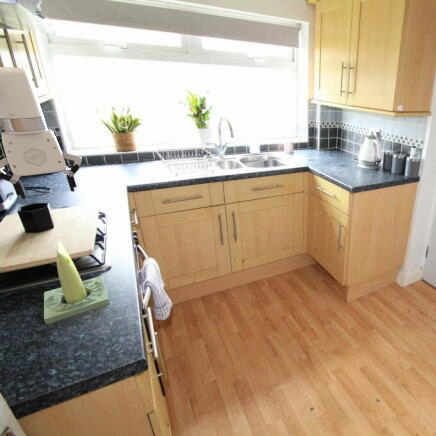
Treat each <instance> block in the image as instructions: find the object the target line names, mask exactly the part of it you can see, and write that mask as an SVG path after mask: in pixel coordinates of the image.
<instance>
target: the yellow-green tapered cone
mask: <svg viewBox="0 0 436 436" xmlns="http://www.w3.org/2000/svg"><path fill="white" fill-rule="evenodd" d="M55 256H56V257H55V258H56V260H55V261H56V268H57V274H58V278H59V282H60V286H61V287H62V290H63V293H64V296H65V299H66V300H65V302H66V303H65V304H71V303H76V302H79V301H81V300H83V299H85V298H87V297H88V296H89V295H88V292H86V291H85V288H84V286H83V283H82V281H83V280H82V279H81V276H80V274H79V272H78V269H77V267H76V265H75V263H74V262H73V259H72V258H71V256H70V254H69V253H68V251H67V249H66V247H65V246H64V244H63V243H62V242H61V241H60V238H58V239H57V248H56V255H55Z"/></svg>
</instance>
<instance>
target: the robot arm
mask: <svg viewBox="0 0 436 436" xmlns="http://www.w3.org/2000/svg"><path fill="white" fill-rule="evenodd" d="M36 92H37V91H36V90H35V86H34V83H33V80H32V77H31V74H30V73H29V72H28V71H27V70H26V69H24V68H21V67H9V66H0V129H1V130H4V131H2V132H1V133H0V134H1V142H2V146H3V150H4V154H5V156H6V157H4V158H2V159H1V160H0V179H2V180H4V181H7V182H9V184H11V185H13V188H14V191H15V194H16V195H17V196H20V197H21V199H22V200H26V199H27V196H28V194H27V192H26V189H25V186H24V184H23V181H22V180H21V179H20V178H22V177H25V176H35V175H42V174H51V173H52V174H53V173H59V172H62V173H63V174H65V176H66V181H67V183H68V185H69V189H70V192H74V193H75V188H77V187H78V186H77V183H76V179H75V177H74V176H75V175H76V174H77V172H78V171H79V169H80V167H81V164H82V161H83V159H82V157H81V156H78V155H76V154H71V153H68V152H64V151H62V149H61V146H60V144H59V141H58V139H57V137H56V135H55V133H54V131H53V130H52V129H50V128H48V126H47V123H46V120H45V117H44V113H43V111H42V108H41V105H40V101H39V98H38V95H37V93H36ZM65 159H67V160H70V161H72V162H74V163H73V165H72V166H71V167H70V168H69V167H68V166H67V165H66V160H65ZM5 166H9V168H10V171H11V172H12V174H10V173H7V172H5V171H4V170H2V168H4V167H5Z"/></svg>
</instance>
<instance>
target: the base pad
mask: <svg viewBox="0 0 436 436" xmlns="http://www.w3.org/2000/svg"><path fill="white" fill-rule="evenodd" d="M81 281H82V283H83V286H84V288H85V291H86V293H87V294H89V293H90V294H89V295H87V296H88V297H87V298H85V299H83V300H81V301H79V302H76V303H71V304H67V303H64V302H65V301H66V299H65V296H64V293H63V290H62V286H61V287H58V288H54V289H49V290H48V291H44V292H43V321H44V323H45V325H50V324H53V323H56V322H59V321H62V320H65V319H68V318H71V317H74V316H78V315H80V314H83V313H86V312H88V311H92V310H95V309H98V308H100V307H104V306H107V305H110V303H111V302H110V299H109V296H108V291H107V287H106V283H105V281H104V277H103V275H100V276H96V277H93V278H89V279H86V280H81Z"/></svg>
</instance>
